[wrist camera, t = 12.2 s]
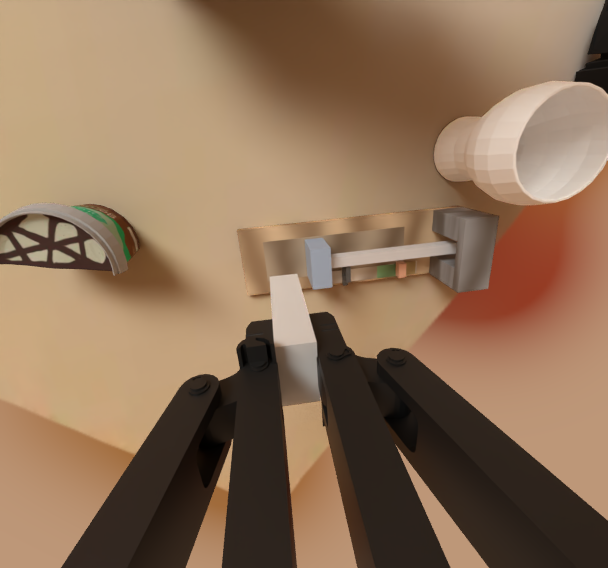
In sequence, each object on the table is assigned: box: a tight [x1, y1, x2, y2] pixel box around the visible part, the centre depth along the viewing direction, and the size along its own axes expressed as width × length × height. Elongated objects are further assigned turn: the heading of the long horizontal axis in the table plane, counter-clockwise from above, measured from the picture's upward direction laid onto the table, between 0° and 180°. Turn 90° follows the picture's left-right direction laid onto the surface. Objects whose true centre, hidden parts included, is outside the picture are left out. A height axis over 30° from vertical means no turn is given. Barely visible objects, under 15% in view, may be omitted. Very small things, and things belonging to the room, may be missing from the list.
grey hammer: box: [305, 238, 457, 290], centre depth 41 cm, size 19×7×5 cm, turn 95°
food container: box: [0, 203, 139, 276], centre depth 34 cm, size 12×6×10 cm, turn 84°
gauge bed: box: [237, 206, 499, 296], centre depth 40 cm, size 30×9×8 cm, turn 95°
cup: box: [434, 81, 608, 205], centre depth 34 cm, size 11×11×15 cm
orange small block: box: [395, 261, 407, 278], centre depth 44 cm, size 1×2×1 cm, turn 5°
